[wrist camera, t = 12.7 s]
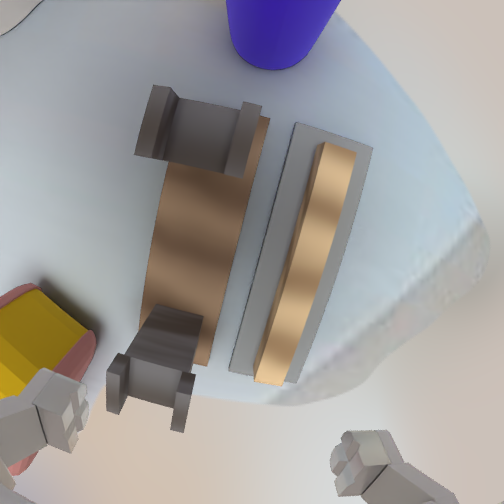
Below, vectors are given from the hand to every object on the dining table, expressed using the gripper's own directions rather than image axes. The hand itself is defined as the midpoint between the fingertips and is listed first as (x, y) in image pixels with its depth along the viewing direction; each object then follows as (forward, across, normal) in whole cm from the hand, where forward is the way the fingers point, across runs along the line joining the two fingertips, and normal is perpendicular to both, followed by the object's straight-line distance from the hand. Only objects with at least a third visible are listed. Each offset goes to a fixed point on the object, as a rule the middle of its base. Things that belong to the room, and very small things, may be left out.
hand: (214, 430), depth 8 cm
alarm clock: (+23, +20, +18) cm, 36 cm away
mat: (+24, -7, +1) cm, 25 cm away
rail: (+23, -7, +1) cm, 24 cm away
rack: (+24, +4, +1) cm, 24 cm away
